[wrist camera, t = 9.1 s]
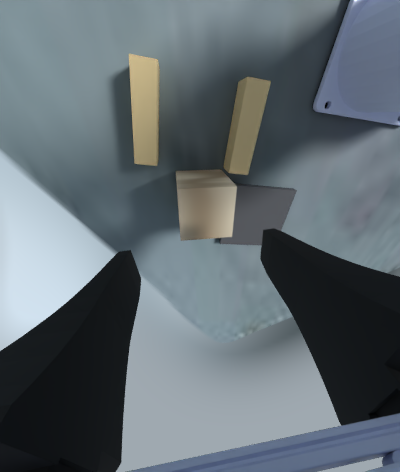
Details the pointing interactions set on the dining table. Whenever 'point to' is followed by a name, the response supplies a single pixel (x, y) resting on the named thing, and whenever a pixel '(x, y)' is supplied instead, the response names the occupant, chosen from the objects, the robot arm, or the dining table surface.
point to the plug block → (205, 204)
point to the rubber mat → (258, 212)
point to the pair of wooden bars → (147, 116)
